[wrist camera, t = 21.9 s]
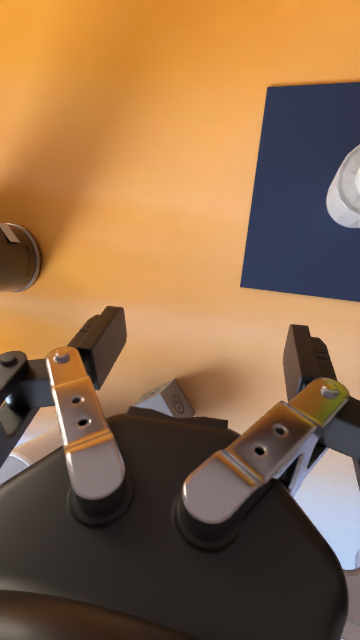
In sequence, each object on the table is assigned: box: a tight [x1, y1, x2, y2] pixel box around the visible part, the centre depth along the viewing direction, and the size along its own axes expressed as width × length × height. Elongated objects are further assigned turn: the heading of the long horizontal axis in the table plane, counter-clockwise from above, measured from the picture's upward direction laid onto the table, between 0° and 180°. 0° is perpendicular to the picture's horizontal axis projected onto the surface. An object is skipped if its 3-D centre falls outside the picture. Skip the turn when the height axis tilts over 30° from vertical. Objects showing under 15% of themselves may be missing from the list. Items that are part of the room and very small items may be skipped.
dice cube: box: [127, 379, 195, 418], centre depth 39 cm, size 5×5×5 cm
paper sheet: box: [240, 82, 360, 302], centre depth 31 cm, size 20×20×1 cm
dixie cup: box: [0, 426, 63, 485], centre depth 43 cm, size 8×8×10 cm
